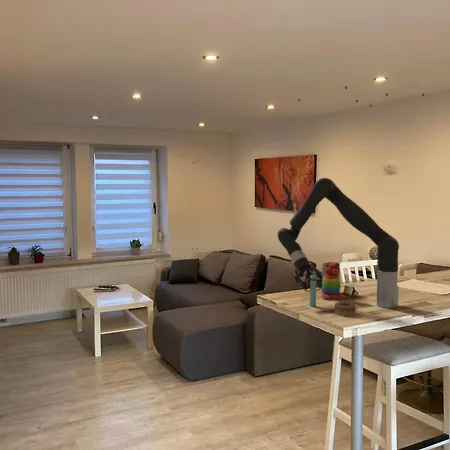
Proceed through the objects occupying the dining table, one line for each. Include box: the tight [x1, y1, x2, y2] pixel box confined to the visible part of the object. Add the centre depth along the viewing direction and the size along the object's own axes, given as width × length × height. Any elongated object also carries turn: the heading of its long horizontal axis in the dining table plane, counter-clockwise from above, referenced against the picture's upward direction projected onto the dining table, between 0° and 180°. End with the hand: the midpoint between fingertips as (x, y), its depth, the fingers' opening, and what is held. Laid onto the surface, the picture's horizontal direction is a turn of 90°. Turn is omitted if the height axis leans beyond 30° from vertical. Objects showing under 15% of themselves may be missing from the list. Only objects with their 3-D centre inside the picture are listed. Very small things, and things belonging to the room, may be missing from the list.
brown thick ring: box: [334, 301, 357, 317], centre depth 216 cm, size 9×9×4 cm
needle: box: [309, 275, 317, 308], centre depth 228 cm, size 3×3×15 cm
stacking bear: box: [321, 263, 345, 301], centre depth 245 cm, size 11×10×18 cm
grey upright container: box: [321, 261, 341, 294], centre depth 256 cm, size 9×6×16 cm
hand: (314, 288), depth 227 cm, fingers open, 8 cm apart
